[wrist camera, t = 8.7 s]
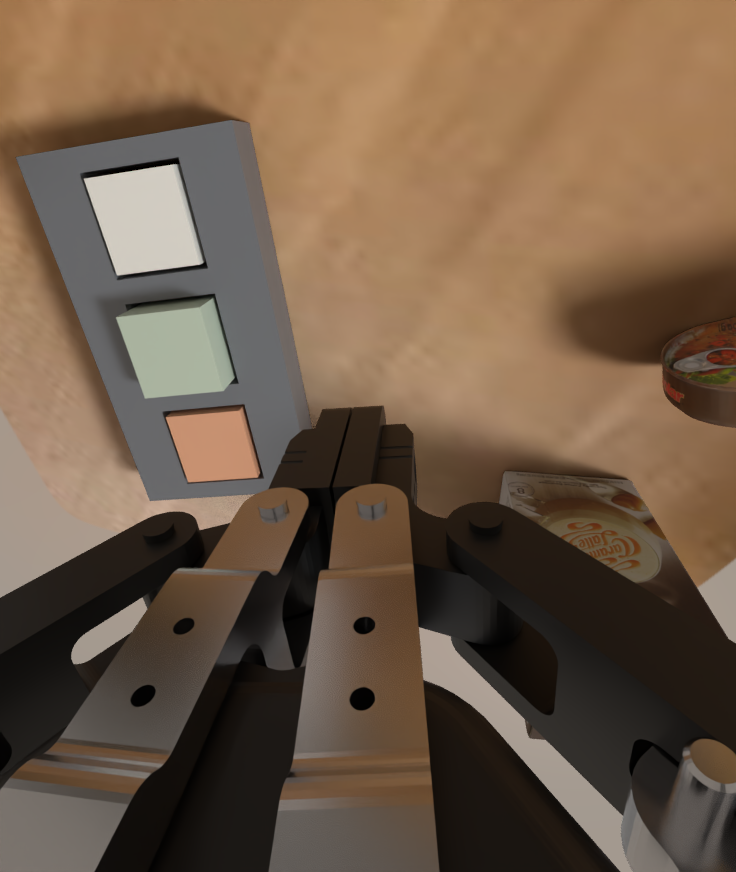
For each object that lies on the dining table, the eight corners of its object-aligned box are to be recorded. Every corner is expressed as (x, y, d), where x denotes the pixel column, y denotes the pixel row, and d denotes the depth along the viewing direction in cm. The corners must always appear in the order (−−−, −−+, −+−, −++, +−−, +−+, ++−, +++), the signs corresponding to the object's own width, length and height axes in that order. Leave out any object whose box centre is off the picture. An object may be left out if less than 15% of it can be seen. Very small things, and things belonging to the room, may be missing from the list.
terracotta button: (185, 397, 37) (165, 417, 34) (253, 390, 36) (239, 410, 34) (204, 458, 39) (188, 482, 37) (269, 453, 39) (257, 477, 36)
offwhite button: (114, 176, 31) (83, 178, 28) (196, 163, 30) (172, 164, 27) (143, 265, 33) (117, 275, 30) (219, 254, 32) (199, 264, 30)
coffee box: (634, 476, 37) (765, 675, 23) (613, 548, 40) (717, 763, 26) (501, 468, 38) (547, 657, 24) (489, 539, 41) (525, 745, 27)
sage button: (142, 303, 33) (116, 317, 30) (219, 293, 32) (199, 307, 29) (167, 378, 35) (144, 398, 32) (239, 371, 34) (223, 390, 31)
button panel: (50, 156, 31) (15, 157, 28) (249, 122, 29) (231, 119, 26) (167, 478, 41) (149, 500, 38) (320, 467, 39) (313, 490, 36)
